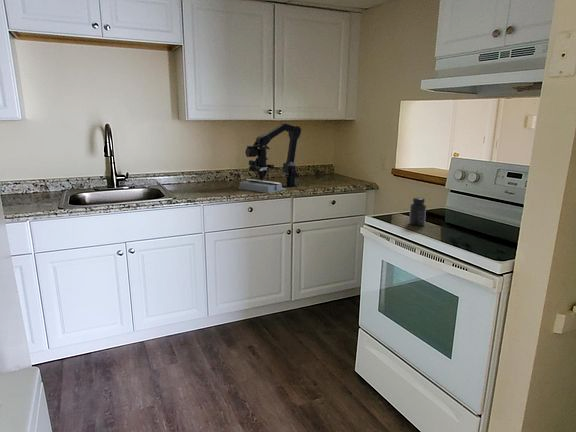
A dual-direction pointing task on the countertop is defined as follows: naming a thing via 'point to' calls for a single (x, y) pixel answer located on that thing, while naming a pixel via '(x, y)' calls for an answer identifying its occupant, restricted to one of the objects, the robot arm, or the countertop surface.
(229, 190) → the countertop surface
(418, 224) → the supplement bottle
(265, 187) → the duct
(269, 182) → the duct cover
